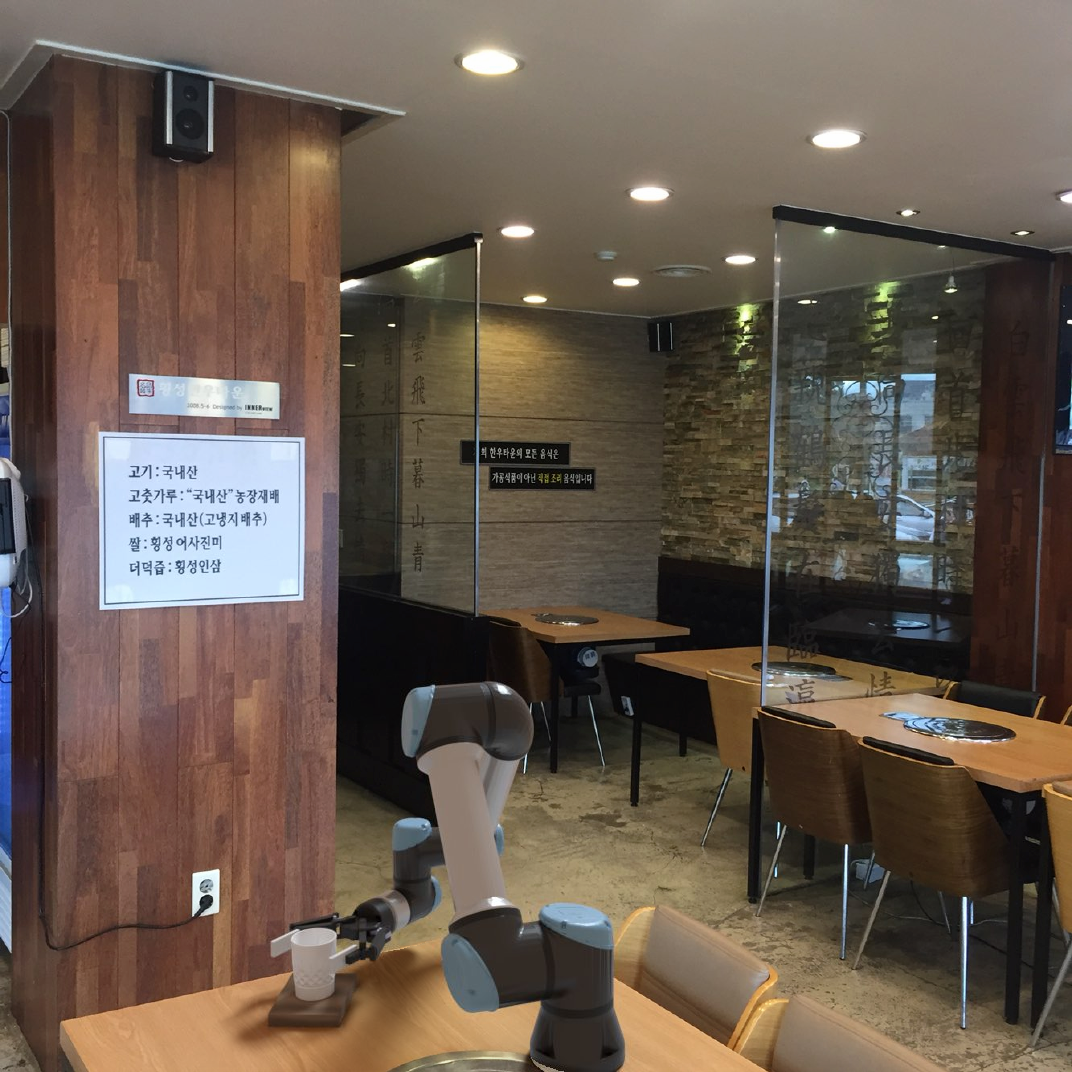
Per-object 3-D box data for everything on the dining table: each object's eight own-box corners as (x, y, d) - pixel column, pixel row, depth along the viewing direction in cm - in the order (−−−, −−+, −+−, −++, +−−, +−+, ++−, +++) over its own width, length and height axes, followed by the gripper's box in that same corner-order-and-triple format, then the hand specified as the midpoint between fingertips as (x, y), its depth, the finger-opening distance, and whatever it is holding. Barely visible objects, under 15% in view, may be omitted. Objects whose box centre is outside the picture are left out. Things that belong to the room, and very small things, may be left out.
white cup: (327, 1004, 188) (326, 947, 187) (284, 1001, 189) (283, 944, 189) (344, 984, 196) (343, 929, 195) (303, 981, 197) (301, 926, 197)
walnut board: (339, 1026, 184) (338, 1014, 184) (268, 1026, 185) (268, 1014, 185) (357, 984, 200) (357, 973, 200) (292, 983, 201) (292, 973, 201)
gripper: (433, 950, 201) (356, 995, 183) (331, 923, 214) (249, 963, 196) (432, 909, 201) (355, 951, 183) (330, 885, 214) (248, 922, 196)
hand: (300, 957), depth 189 cm, fingers open, 13 cm apart
